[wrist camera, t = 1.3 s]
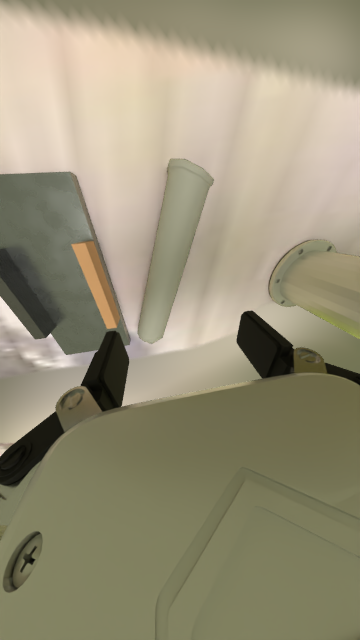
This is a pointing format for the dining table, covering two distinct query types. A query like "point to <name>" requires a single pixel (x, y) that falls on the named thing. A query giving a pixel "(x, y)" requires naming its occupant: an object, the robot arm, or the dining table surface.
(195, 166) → the tube
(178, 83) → the dining table surface
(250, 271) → the dining table surface
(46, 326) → the galvanized metal plate
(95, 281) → the bar
